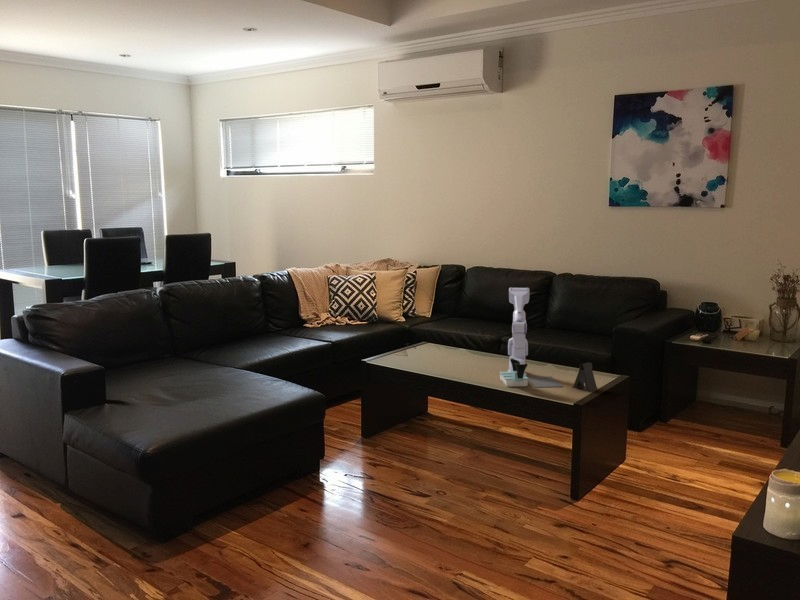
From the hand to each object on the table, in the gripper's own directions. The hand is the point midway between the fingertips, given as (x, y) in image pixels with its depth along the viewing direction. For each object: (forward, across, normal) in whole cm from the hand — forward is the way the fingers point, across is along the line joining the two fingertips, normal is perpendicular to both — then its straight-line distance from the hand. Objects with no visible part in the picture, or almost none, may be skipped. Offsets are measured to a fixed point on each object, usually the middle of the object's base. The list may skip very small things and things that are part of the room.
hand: (518, 376), depth 311 cm
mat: (+5, -8, +14) cm, 17 cm away
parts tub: (+5, -9, 0) cm, 10 cm away
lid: (+2, -7, 0) cm, 7 cm away
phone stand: (+6, +5, +30) cm, 31 cm away
